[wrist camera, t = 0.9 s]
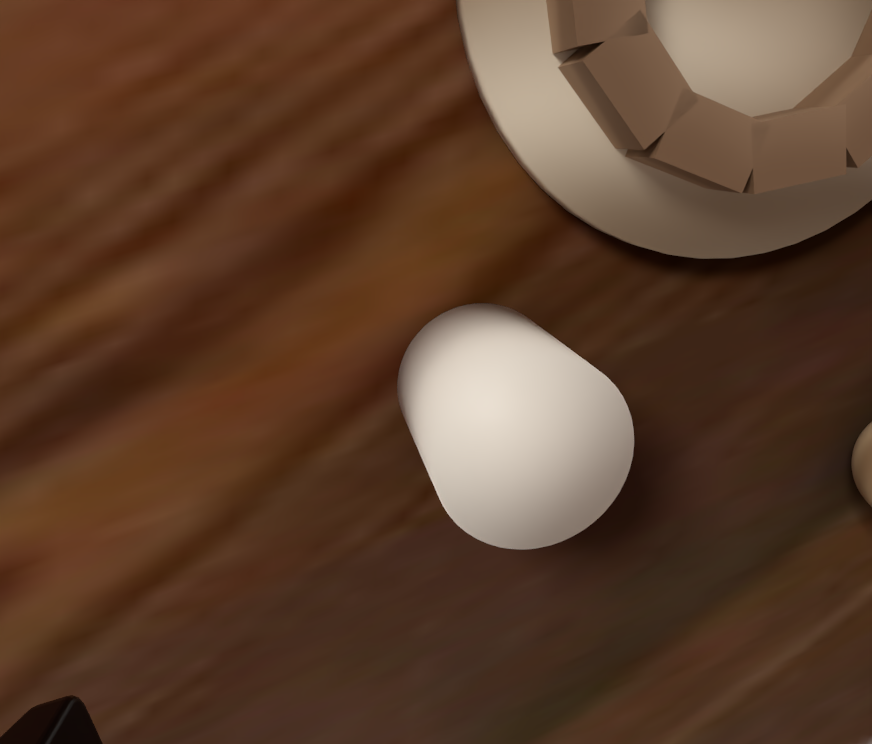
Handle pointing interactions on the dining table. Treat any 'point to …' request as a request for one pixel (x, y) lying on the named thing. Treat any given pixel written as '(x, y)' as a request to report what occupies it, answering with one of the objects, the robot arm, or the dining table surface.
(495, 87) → the tray
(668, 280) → the dining table surface
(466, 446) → the white cylinder
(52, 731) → the robot arm
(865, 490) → the bead small
